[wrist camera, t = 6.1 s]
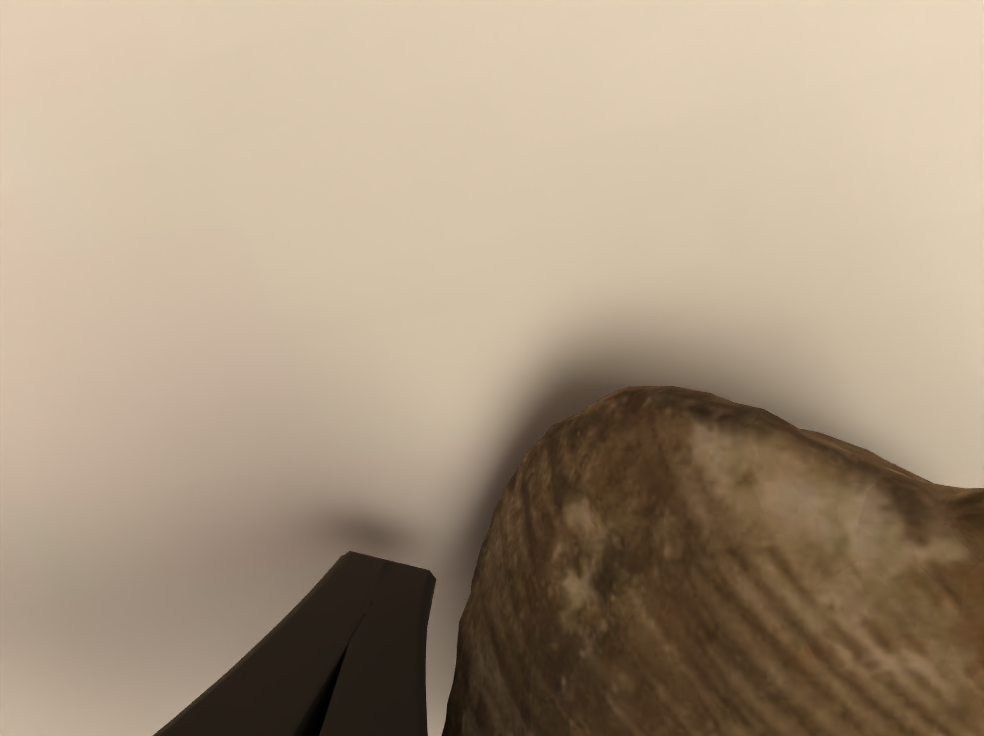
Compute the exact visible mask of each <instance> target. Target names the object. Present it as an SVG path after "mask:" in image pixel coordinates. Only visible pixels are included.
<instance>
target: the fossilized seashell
mask: <svg viewBox="0 0 984 736" xmlns="http://www.w3.org/2000/svg"><path fill="white" fill-rule="evenodd" d="M442 736H984V488H968V489H965V488H958V487H951V486H944V485H937V484H933V483H931V482H929V481H927V480H925V479H923V478H921V477H919V476H917V475H915V474H913V473H911V472H909V471H907V470H905V469H903V468H900V467H898V466H896V465H894V464H892V463H890V462H888V461H886V460H884V459H883V458H881V457H879V456H877V455H876V454H874V453H872V452H870V451H868V450H866V449H863V448H860V447H857V446H855V445H852V444H849V443H847V442H844V441H841V440H838V439H836V438H833V437H830V436H827V435H824V434H821V433H819V432H813V431H807V430H802V429H798V428H796V427H795V426H793V425H791V424H790V423H788V422H786V421H784V420H782V419H781V418H779V417H777V416H775V415H773V414H771V413H769V412H768V411H766V410H764V409H760V408H755V407H751V406H746V405H742V404H737V403H734V402H731V401H729V400H726V399H724V398H721V397H719V396H716V395H714V394H711V393H706V392H701V391H696V390H690V389H685V388H680V387H674V386H634V387H626V388H624V389H621V390H619V391H616V392H614V393H612V394H609V395H607V396H605V397H604V398H602V399H600V400H598V401H597V402H595V403H593V404H592V405H590V406H589V407H587V408H586V409H585V410H583V411H582V412H581V413H579V414H577V415H575V416H573V417H570V418H568V419H566V420H564V421H561V422H559V423H557V424H555V425H553V426H552V427H551V428H550V430H549V431H548V432H547V433H546V435H545V436H544V437H543V438H542V439H541V440H540V441H539V442H538V443H537V444H536V445H535V446H533V447H532V448H531V449H530V450H529V451H528V452H527V453H526V455H525V457H524V459H523V461H522V463H521V465H520V467H519V468H518V470H517V471H516V473H515V474H514V476H513V477H512V479H511V480H510V482H509V484H508V486H507V487H506V489H505V491H504V493H503V495H502V496H501V498H500V500H499V502H498V504H497V506H496V508H495V511H494V514H493V518H492V522H491V526H490V529H489V531H488V533H487V535H486V538H485V540H484V542H483V544H482V547H481V550H480V554H479V557H478V561H477V564H476V568H475V571H474V576H473V580H472V586H471V594H470V596H469V599H468V601H467V604H466V606H465V609H464V611H463V614H462V617H461V619H460V622H459V631H458V641H457V659H456V668H455V674H454V680H453V685H452V689H451V692H450V696H449V699H448V703H447V713H446V721H445V725H444V729H443V733H442Z"/></svg>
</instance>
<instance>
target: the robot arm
mask: <svg viewBox="0 0 984 736" xmlns="http://www.w3.org/2000/svg"><path fill="white" fill-rule="evenodd" d="M435 583H436V578H435V577H434V576H433V574H432V573H431V572H430V570H426V569H422V568H418V567H414V566H410V565H405V564H401V563H397V562H393V561H389V560H385V559H381V558H376V557H372V556H368V555H364V554H360V553H356V552H351V551H350V552H348V553H346V554H344V555H342V556H341V557H340V558H339V559H338V560H337V562H336V563H335V564H334V565H333V566H332V567H331V569H330V570H329V571H328V572H327V573H326V574H325V575H324V577H323V578H322V579H321V580H320V581H319V582H318V583H317V584H316V585H315V586H314V588H313V589H312V590H311V591H310V592H309V593H308V594H307V595H306V596H305V597H304V598H303V599H302V600H301V601H300V602H299V603H298V604H297V605H296V606H295V607H294V608H293V609H292V611H291V612H290V613H289V614H288V615H287V616H286V617H285V618H284V619H283V620H282V621H281V622H280V623H279V624H278V625H277V626H276V627H275V628H273V629H272V630H271V631H270V632H269V633H268V634H267V635H266V636H265V637H264V638H263V639H262V640H261V641H260V642H259V643H258V644H257V645H256V646H255V647H254V648H252V649H251V650H250V651H249V652H248V653H247V654H246V655H245V656H244V657H243V658H242V659H241V660H240V661H239V662H238V663H237V664H236V665H235V666H233V667H232V668H231V669H230V670H229V671H228V672H227V673H226V674H225V675H223V676H222V677H221V678H220V679H219V680H218V681H217V682H215V683H214V684H213V685H212V686H211V687H210V688H208V689H207V690H206V691H205V692H204V693H203V694H201V695H200V696H199V697H198V698H197V699H196V700H194V701H193V702H192V703H191V704H190V705H189V706H187V707H186V708H185V709H184V710H183V711H182V712H180V713H179V714H178V715H177V716H176V717H175V718H173V719H172V720H171V721H170V722H169V723H168V724H166V725H165V726H164V727H163V728H162V729H160V730H159V731H158V732H157V733H155V734H154V735H153V736H428V732H427V708H426V639H427V625H428V620H429V615H430V609H431V604H432V599H433V594H434V588H435Z"/></svg>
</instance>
